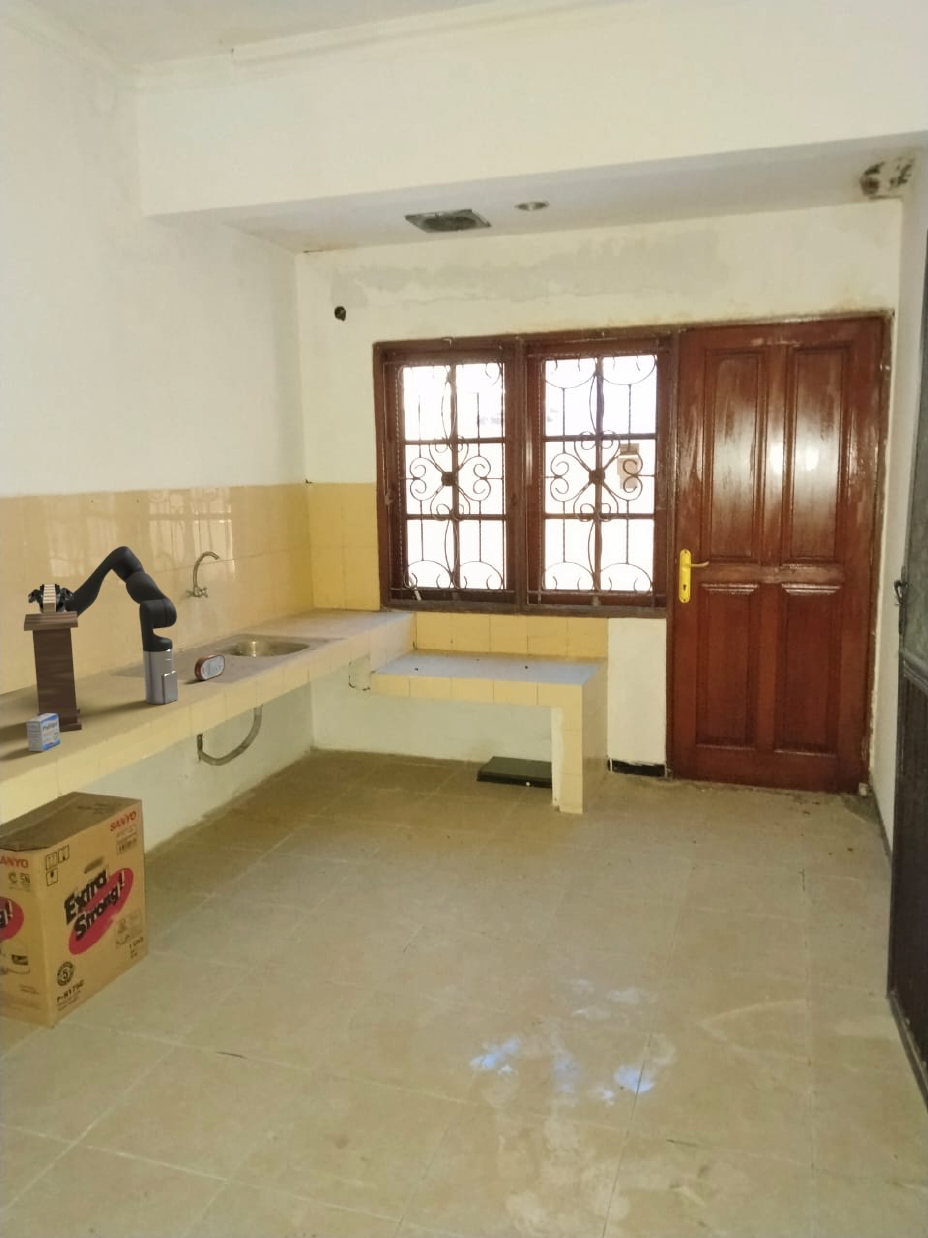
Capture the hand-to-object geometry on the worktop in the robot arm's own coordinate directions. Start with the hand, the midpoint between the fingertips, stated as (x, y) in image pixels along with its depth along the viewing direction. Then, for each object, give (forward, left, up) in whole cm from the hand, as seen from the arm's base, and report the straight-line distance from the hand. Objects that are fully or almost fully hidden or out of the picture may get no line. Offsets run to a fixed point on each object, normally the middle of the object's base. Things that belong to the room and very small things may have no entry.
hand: (49, 586), depth 281 cm
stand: (-13, +13, -39) cm, 43 cm away
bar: (-9, +9, -3) cm, 13 cm away
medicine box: (-27, +32, -39) cm, 57 cm away
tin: (-20, -51, -39) cm, 67 cm away
